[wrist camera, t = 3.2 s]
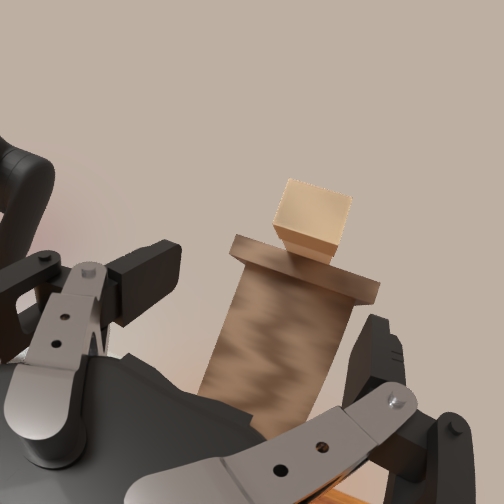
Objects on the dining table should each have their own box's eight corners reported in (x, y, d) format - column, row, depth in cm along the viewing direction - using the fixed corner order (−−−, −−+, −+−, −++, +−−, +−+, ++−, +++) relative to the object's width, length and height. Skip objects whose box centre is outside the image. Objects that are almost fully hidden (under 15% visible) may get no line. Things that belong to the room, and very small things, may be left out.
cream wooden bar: (272, 223, 18) (289, 178, 19) (294, 271, 41) (302, 250, 42) (338, 245, 17) (352, 197, 18) (323, 281, 40) (330, 259, 41)
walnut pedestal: (145, 489, 25) (236, 233, 28) (183, 453, 36) (258, 255, 40) (253, 538, 21) (380, 282, 25) (269, 489, 33) (359, 290, 36)
